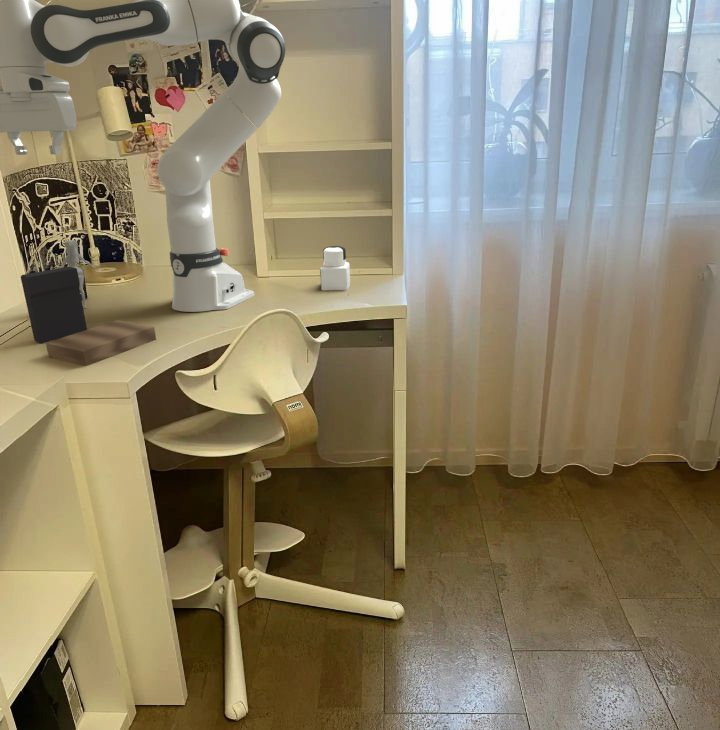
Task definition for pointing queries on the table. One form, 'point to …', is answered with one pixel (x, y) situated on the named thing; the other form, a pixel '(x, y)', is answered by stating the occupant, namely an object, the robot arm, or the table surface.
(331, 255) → the medicine bottle
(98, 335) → the walnut plinth
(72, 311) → the black upright rectangular block
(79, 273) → the human figurine
